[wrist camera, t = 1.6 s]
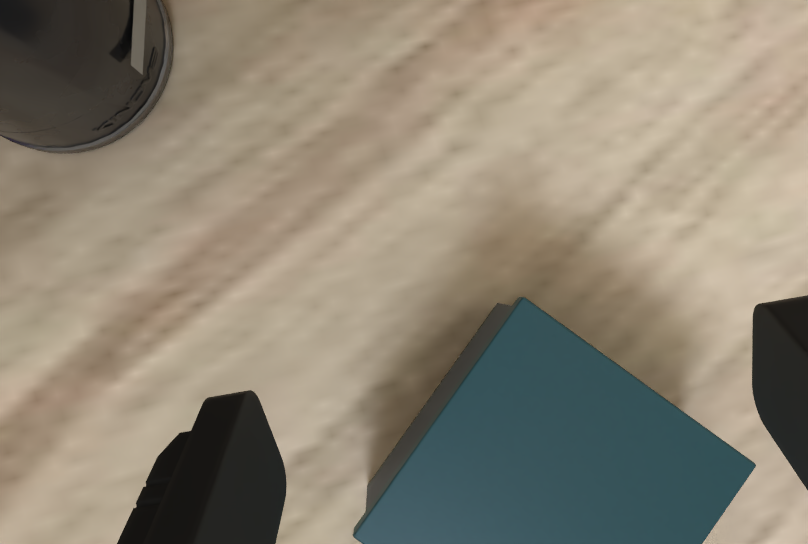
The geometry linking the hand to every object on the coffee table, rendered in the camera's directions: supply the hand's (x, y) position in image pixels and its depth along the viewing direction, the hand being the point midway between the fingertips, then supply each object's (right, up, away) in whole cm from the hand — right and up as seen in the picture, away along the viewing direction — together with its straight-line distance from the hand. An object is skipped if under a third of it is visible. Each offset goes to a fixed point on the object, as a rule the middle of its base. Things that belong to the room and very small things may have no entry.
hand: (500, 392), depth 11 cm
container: (+4, -6, +20) cm, 21 cm away
